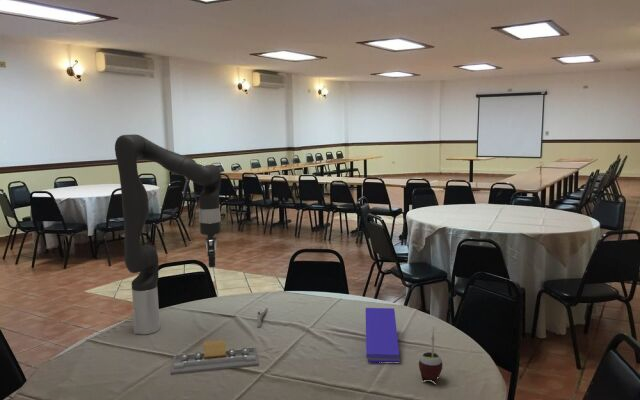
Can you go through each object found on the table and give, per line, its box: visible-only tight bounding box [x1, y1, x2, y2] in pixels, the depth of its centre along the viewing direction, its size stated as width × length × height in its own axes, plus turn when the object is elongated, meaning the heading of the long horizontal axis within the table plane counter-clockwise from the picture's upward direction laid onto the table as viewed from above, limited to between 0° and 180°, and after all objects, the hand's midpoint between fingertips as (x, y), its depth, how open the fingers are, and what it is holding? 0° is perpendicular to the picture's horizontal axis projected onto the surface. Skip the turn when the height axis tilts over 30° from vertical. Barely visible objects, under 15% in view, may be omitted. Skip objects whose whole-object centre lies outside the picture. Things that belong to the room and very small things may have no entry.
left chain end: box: [174, 351, 215, 369], centre depth 171 cm, size 13×8×3 cm, turn 101°
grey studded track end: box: [215, 346, 255, 364], centre depth 174 cm, size 13×8×3 cm, turn 101°
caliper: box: [256, 306, 269, 328], centre depth 210 cm, size 20×1×6 cm, turn 177°
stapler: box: [365, 307, 401, 364], centre depth 182 cm, size 12×28×10 cm, turn 177°
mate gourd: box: [418, 326, 444, 383], centre depth 158 cm, size 8×8×15 cm
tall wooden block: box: [203, 339, 227, 359], centre depth 172 cm, size 3×7×6 cm, turn 101°
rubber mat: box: [170, 347, 260, 376], centre depth 173 cm, size 28×12×1 cm, turn 101°
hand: (212, 263), depth 189 cm, fingers open, 8 cm apart
